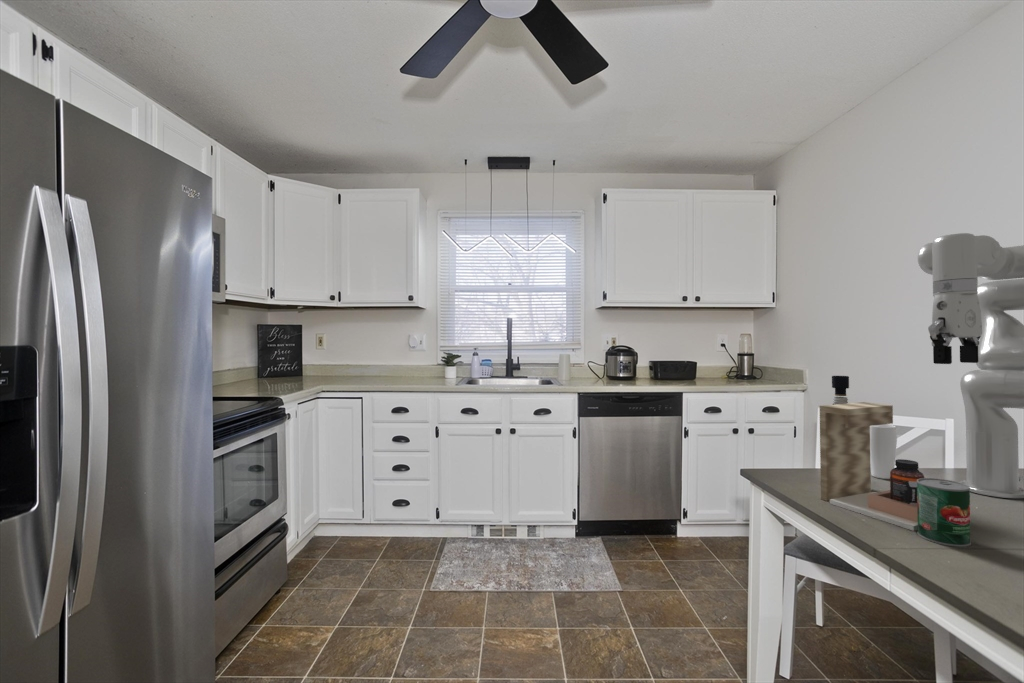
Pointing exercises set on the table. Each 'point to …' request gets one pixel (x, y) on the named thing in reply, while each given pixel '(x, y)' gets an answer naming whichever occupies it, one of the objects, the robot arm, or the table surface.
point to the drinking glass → (882, 450)
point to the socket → (881, 508)
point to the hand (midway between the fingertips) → (956, 363)
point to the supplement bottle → (905, 481)
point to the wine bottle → (840, 388)
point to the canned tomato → (943, 511)
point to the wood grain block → (848, 446)
